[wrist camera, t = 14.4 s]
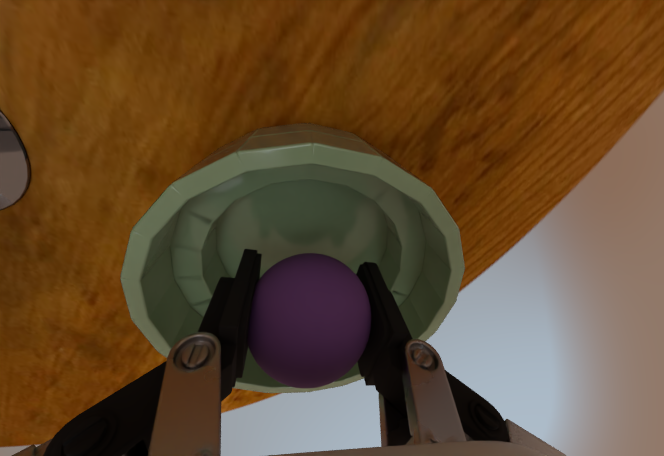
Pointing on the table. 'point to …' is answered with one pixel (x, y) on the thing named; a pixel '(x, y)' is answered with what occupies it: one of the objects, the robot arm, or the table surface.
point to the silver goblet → (12, 165)
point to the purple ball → (308, 320)
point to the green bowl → (290, 232)
